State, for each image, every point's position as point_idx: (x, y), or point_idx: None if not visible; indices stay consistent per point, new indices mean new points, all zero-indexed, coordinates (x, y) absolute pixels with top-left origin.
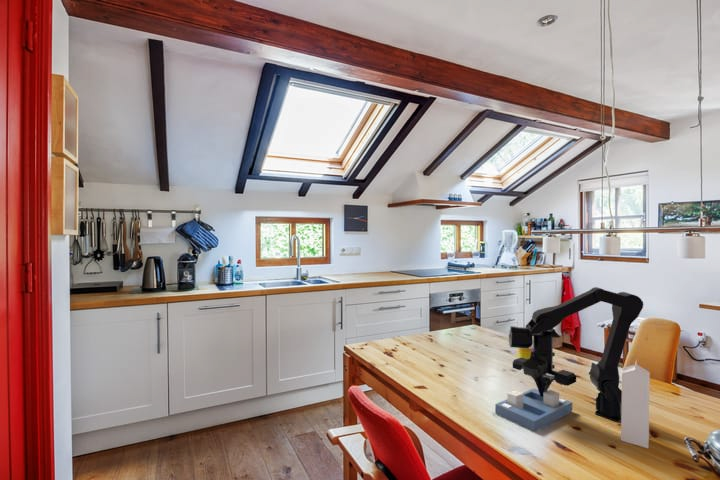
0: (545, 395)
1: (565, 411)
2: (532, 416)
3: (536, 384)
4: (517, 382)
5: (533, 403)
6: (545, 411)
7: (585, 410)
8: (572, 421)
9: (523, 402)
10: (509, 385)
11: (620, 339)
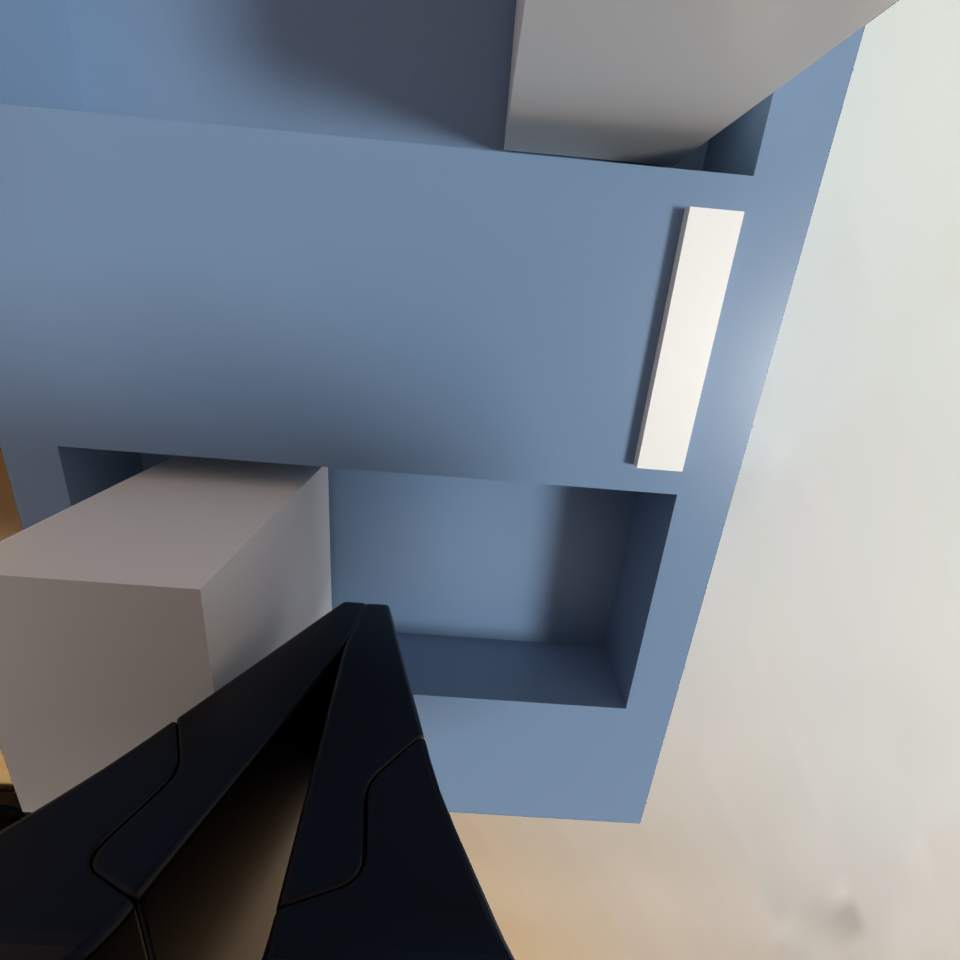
0: (175, 555)
1: None
2: None
3: (424, 771)
4: (874, 888)
5: (372, 295)
6: (13, 111)
7: None
8: (5, 477)
9: (526, 159)
10: (933, 782)
11: None
